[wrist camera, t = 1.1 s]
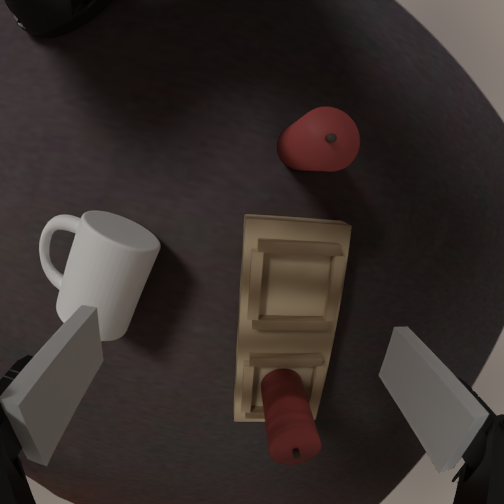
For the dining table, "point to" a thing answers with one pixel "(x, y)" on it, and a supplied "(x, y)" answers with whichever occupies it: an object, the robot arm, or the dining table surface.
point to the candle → (320, 141)
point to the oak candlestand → (287, 326)
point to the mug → (101, 267)
